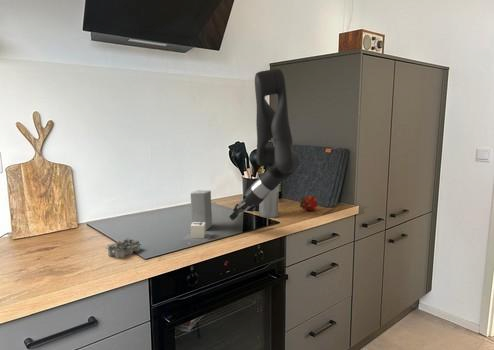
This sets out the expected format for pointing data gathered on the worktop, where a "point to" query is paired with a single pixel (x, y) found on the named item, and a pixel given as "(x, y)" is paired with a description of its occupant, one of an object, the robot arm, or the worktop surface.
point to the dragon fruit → (308, 203)
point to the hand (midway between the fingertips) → (231, 218)
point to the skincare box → (201, 207)
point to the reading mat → (207, 236)
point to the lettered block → (198, 230)
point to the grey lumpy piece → (123, 248)
